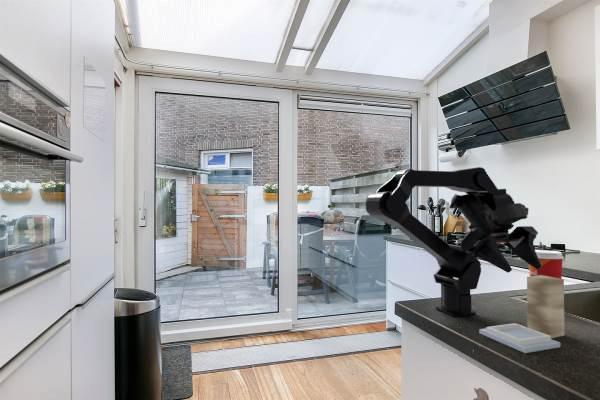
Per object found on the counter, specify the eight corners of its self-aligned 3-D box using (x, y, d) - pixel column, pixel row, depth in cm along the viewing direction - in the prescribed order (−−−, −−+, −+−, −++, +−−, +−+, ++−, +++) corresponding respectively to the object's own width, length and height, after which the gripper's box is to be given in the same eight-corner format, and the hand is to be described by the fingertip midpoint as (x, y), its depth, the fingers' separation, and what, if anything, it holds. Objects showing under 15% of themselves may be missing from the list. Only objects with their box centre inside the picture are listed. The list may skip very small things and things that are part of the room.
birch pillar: (527, 331, 72) (526, 276, 72) (541, 328, 73) (541, 275, 73) (549, 338, 68) (549, 281, 68) (564, 335, 69) (563, 279, 69)
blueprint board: (479, 333, 70) (479, 325, 70) (511, 328, 73) (511, 320, 73) (525, 353, 61) (524, 343, 61) (560, 347, 63) (560, 338, 63)
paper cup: (529, 301, 93) (528, 248, 94) (565, 306, 89) (564, 251, 89) (525, 308, 87) (524, 251, 88) (563, 314, 83) (563, 254, 83)
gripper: (471, 190, 76) (520, 247, 66) (529, 191, 83) (582, 243, 73) (443, 225, 83) (484, 281, 73) (499, 223, 90) (543, 274, 80)
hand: (525, 269), depth 74 cm, fingers open, 9 cm apart
